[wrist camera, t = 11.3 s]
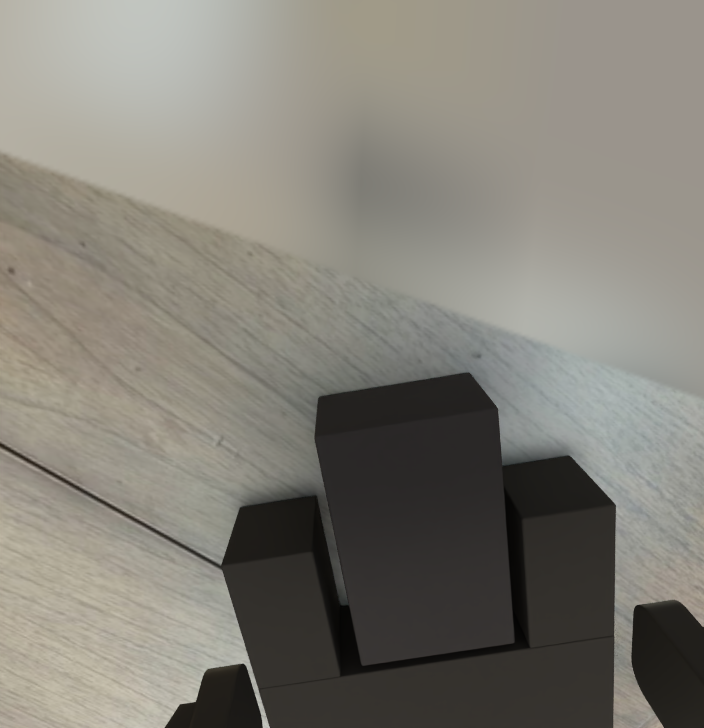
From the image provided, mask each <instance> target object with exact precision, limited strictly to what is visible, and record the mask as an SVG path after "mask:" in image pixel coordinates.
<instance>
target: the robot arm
mask: <svg viewBox="0 0 704 728" xmlns="http://www.w3.org/2000/svg"><path fill="white" fill-rule="evenodd" d="M632 667H633V671H634V674H635V677H636V680H637V683H638V685H639V687H640V689H641V691H642V693H643V695H644V696H645V698H646V700H647V701H648V703H649V704H650V706H651V708H652V709H653V711H654V712H655V714H656V716H657V717H658V719H659V720H660V722H661V723H662V725H663V727H664V728H704V627H702V626H701V624H700V623H699V622H698V621H697V620H696V619H695V618H694V616H693V615H692V614H691V613H690V612H689V611H688V610H687V608H686V607H685V606H684V605H683V604H681V603H680V602H678V601H676V600H668V601H662V602H655V603H649V604H642V605H637V606H636V607H635V608H634V615H633V636H632ZM165 728H263V727H262V718H261V713H260V710H259V706H258V703H257V700H256V697H255V693H254V690H253V687H252V683H251V680H250V677H249V674H248V670H247V668H246V666H245V664H238V665H231V666H224V667H218V668H211V669H207V670H206V672H205V673H204V676H203V679H202V682H201V686H200V689H199V693H198V697H197V700H196V702H194V703H187V704H180V705H179V707H178V708H177V710H176V711H175V713H174V714H173V716H172V717H171V719H170V721H169V722H168V724H167V725H166V727H165Z"/></svg>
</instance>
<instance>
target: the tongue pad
mask: <svg viewBox="0 0 704 728" xmlns="http://www.w3.org/2000/svg"><path fill="white" fill-rule="evenodd" d="M314 439H315V443H316V448H317V453H318V458H319V463H320V468H321V472H322V477H323V482H324V487H325V492H326V497H327V501H328V506H329V511H330V516H331V521H332V526H333V530H334V535H335V540H336V545H337V550H338V555H339V559H340V564H341V569H342V574H343V579H344V584H345V588H346V593H347V598H348V603H349V608H350V613H351V617H352V622H353V627H354V632H355V637H356V642H357V646H358V651H359V656H360V661H361V664H362V665H363V666H365V665H371V664H378V663H385V662H391V661H398V660H405V659H412V658H418V657H425V656H432V655H438V654H445V653H452V652H458V651H465V650H472V649H478V648H485V647H492V646H498V645H505V644H512V643H514V642H515V638H514V624H513V610H512V596H511V582H510V569H509V555H508V541H507V527H506V513H505V499H504V485H503V471H502V458H501V444H500V430H499V416H498V408H497V407H496V405H495V404H494V403H493V402H492V400H491V399H490V398H489V397H488V395H487V394H486V393H485V392H484V390H483V389H482V388H481V387H480V385H479V384H478V383H477V382H476V380H475V379H474V378H473V377H472V375H471V374H470V373H465V374H459V375H452V376H446V377H440V378H434V379H428V380H421V381H415V382H409V383H403V384H397V385H391V386H384V387H378V388H372V389H366V390H360V391H354V392H347V393H341V394H335V395H329V396H323V397H319V398H318V406H317V417H316V427H315V438H314Z"/></svg>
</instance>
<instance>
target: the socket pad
mask: <svg viewBox="0 0 704 728" xmlns="http://www.w3.org/2000/svg"><path fill="white" fill-rule="evenodd" d="M502 471H503V485H504V499H505V513H506V527H507V541H508V555H509V569H510V582H511V596H512V610H513V624H514V638H515V642H514V643H512V644H505V645H498V646H492V647H485V648H478V649H472V650H465V651H458V652H452V653H445V654H438V655H432V656H425V657H418V658H412V659H405V660H398V661H391V662H385V663H378V664H371V665H365V666H363V665H362V664H361V661H360V656H359V651H358V646H357V642H356V637H355V632H354V627H353V622H352V617H351V613H350V608H349V606H344V607H340V604H339V599H338V594H337V590H336V585H335V580H334V576H333V571H332V566H331V562H330V557H329V552H328V548H327V543H326V538H325V534H324V529H323V524H322V520H321V515H320V510H319V506H318V501H317V497H316V496H311V497H305V498H299V499H292V500H286V501H280V502H273V503H267V504H261V505H254V506H248V507H242V508H240V509H239V512H238V515H237V518H236V521H235V524H234V527H233V531H232V534H231V537H230V540H229V543H228V546H227V549H226V552H225V556H224V559H223V562H222V565H221V567H222V570H223V574H224V577H225V580H226V584H227V587H228V590H229V594H230V597H231V600H232V603H233V607H234V610H235V613H236V617H237V620H238V623H239V627H240V630H241V633H242V636H243V640H244V643H245V646H246V650H247V653H248V656H249V660H250V663H251V666H252V669H253V673H254V676H255V679H256V683H257V686H258V688H259V689H258V690H259V693H260V696H261V699H262V703H263V706H264V709H265V713H266V716H267V719H268V723H269V726H270V728H613V697H614V600H615V522H616V505H615V503H614V502H613V501H612V500H611V499H610V498H609V497H608V496H607V495H606V494H605V493H604V492H603V491H602V490H601V488H600V487H599V486H598V485H597V484H596V483H595V482H594V481H593V480H592V479H591V478H590V477H589V476H588V475H587V473H586V472H585V471H584V470H583V469H582V468H581V467H580V466H579V465H578V464H577V463H576V462H575V461H574V460H573V459H572V457H571V456H566V457H559V458H553V459H547V460H540V461H534V462H528V463H521V464H515V465H509V466H502Z"/></svg>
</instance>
